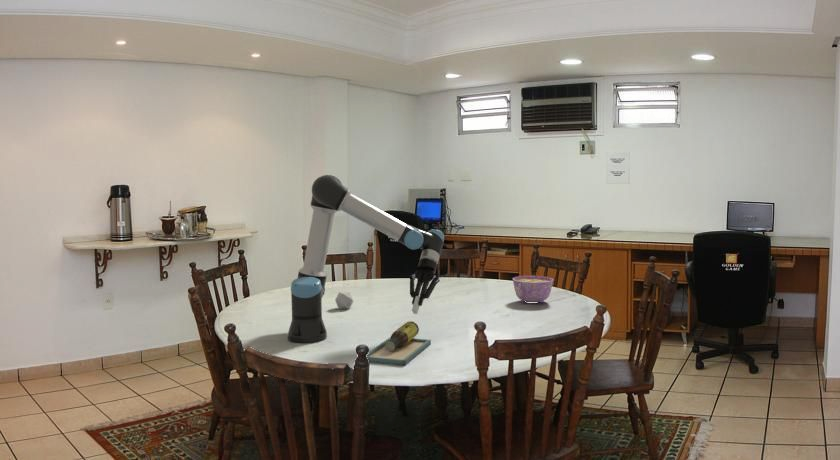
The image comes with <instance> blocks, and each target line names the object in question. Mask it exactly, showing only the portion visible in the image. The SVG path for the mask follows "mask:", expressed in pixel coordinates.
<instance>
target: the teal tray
mask: <svg viewBox="0 0 840 460" xmlns="http://www.w3.org/2000/svg"><path fill="white" fill-rule="evenodd" d="M390 339H391V336H389V338H387V339H386V340H384V341H383V342H381V343H379V344H378V345H376V346H375V347H374V348H372V349H370V350H369V351H368V352H369V354H368V355H367V358H368V360H369V362H368V363H372V364H379V365H380V364H381V365H391V366H392V365H393V366H401V367H402V366H403V367H405V366H407V365H408V364H409V363H410V362H412V361H413V360H414V359H415V358H416V357H418V356H419V355H420V354H421V353H422V352H424V351H425V350H426V349H427V348H428V347H429V346H430V345H431V344H432V342H431V341H432V340H431V339H425V338H415V337H414V338H413V339H412V340H410V341H409V342H408V343H407V344H405V345H404V346H402V347H396V349H395V350H393V351H388V350H387V349H386V347H385V343H386V342H387V341H388V340H390Z"/></svg>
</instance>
